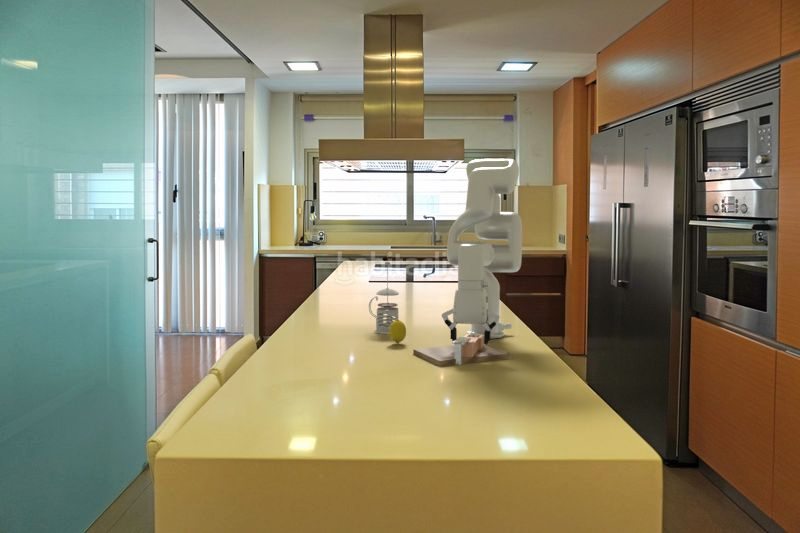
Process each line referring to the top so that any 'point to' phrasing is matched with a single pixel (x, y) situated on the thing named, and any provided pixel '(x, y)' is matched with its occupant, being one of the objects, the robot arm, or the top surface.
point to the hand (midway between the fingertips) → (470, 342)
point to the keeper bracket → (459, 349)
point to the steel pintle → (473, 334)
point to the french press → (385, 309)
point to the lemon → (397, 331)
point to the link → (473, 345)
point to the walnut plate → (446, 355)
